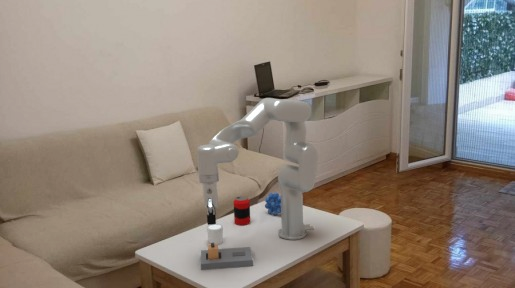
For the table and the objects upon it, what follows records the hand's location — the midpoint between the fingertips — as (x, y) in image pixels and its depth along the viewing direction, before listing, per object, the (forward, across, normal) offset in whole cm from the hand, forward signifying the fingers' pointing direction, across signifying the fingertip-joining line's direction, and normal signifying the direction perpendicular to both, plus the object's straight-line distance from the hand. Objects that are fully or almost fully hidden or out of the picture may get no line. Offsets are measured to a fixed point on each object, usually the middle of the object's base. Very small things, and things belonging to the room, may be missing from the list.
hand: (211, 219), depth 193 cm
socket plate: (+18, 0, -5) cm, 19 cm away
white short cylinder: (+18, +19, -1) cm, 26 cm away
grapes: (+18, +46, -31) cm, 58 cm away
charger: (+18, 0, 0) cm, 18 cm away
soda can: (+18, +39, -14) cm, 45 cm away
